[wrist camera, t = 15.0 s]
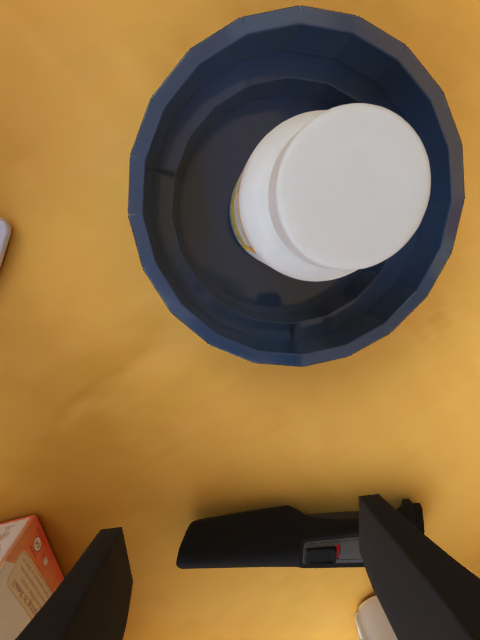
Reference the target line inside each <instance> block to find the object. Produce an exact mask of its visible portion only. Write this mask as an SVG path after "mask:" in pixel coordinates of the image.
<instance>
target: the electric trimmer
mask: <svg viewBox="0 0 480 640" xmlns="http://www.w3.org/2000/svg"><path fill="white" fill-rule="evenodd" d="M396 510H397V511H398V512H399V513H400V514H401V515H403V516H404V517H405V518H406V519H407V520H408V521H409V522H410V523H412V524H413V525H414V526H415V527H416V528H417V529H418V530H420V531H421V532H422V533H423V534H424V520H423V512H422V507H421V504H420V503H413V504H412V502H411V501H410V500H409V499H403V501H402V504H401V506H400V507H399V508H398V509H396ZM176 565H177V566H178V568H181V569H194V568H236V567H300V568H336V567H365V566H364V563H363V560H362V557H361V555H360V552H359V511H357V512H339V513H322V514H304V513H302V512H300V511H298V510H297V509H295V508H293V507H291V506H279V507H272V508H266V509H259V510H252V511H246V512H241V513H235V514H229V515H223V516H217V517H211V518H205V519H199V520H196V521H193V522H192V523H191V524H190V525H189V527H188V529H187V531H186V533H185V536H184V538H183V541H182V543H181V546H180V548H179V552H178V556H177V561H176Z"/></svg>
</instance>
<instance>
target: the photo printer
mask: <svg viewBox="0 0 480 640" xmlns="http://www.w3.org/2000/svg"><path fill="white" fill-rule="evenodd" d="M355 620H356V625H357V629H358V634H359V637H360V640H398V639H397V637H396V635H395V633H394V631H393V629H392V627H391V625H390V623H389V621H388V619H387V617H386V615H385V613H384V610H383V608H382V606H381V604H380V602H379V600H378V598H377V596H376V595H375V596H372V597H370V598H368V599H367V600H365V601H364V602H363V603H362V604H361V605H360V606H359V608H358V612H356V613H355Z"/></svg>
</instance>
